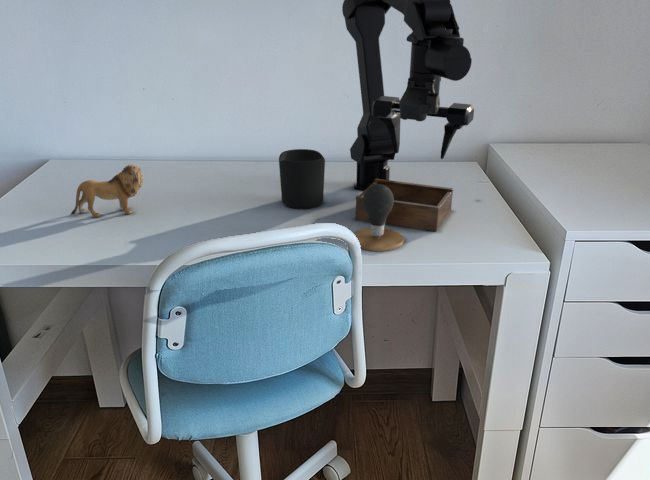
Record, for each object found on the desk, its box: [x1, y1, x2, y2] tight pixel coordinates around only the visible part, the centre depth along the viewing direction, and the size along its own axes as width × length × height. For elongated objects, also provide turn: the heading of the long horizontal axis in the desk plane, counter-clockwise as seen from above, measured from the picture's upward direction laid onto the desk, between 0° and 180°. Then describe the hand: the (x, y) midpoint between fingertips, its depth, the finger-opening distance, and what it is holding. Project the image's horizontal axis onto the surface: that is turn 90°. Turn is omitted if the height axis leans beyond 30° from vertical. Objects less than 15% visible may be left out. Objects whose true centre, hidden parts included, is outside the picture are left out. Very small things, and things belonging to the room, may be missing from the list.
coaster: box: [352, 227, 405, 252], centre depth 130 cm, size 10×10×1 cm
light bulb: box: [363, 184, 394, 238], centre depth 127 cm, size 6×6×10 cm
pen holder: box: [278, 148, 326, 210], centre depth 145 cm, size 9×9×10 cm
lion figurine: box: [70, 164, 144, 218], centre depth 137 cm, size 15×5×9 cm, turn 116°
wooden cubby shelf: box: [355, 179, 454, 232], centre depth 141 cm, size 17×13×5 cm
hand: (419, 155), depth 137 cm, fingers open, 9 cm apart
